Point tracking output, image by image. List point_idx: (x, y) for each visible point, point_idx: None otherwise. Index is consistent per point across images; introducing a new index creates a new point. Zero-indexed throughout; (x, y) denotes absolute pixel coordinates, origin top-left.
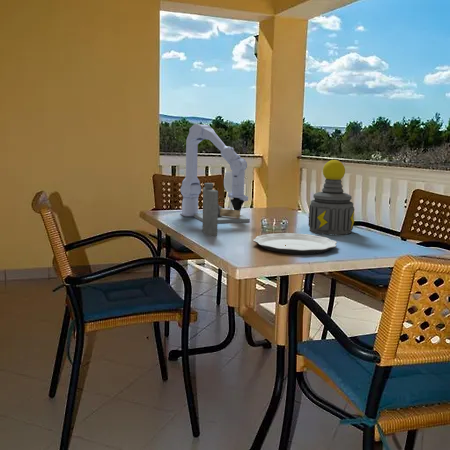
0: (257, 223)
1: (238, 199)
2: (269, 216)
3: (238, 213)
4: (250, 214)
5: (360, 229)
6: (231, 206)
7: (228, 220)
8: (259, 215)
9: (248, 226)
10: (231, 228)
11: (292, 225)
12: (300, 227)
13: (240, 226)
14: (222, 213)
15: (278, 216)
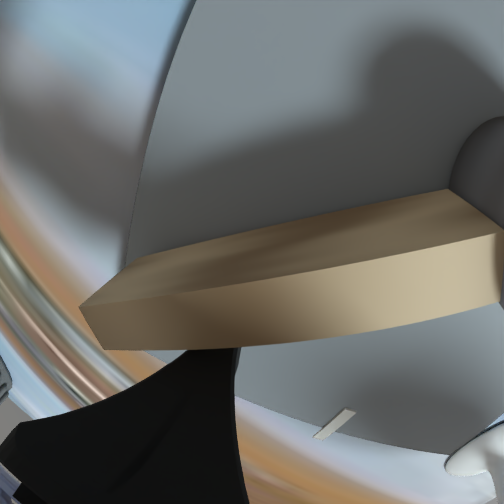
0: (82, 314)
1: (24, 490)
2: (273, 495)
3: (103, 286)
4: (386, 489)
5: (9, 397)
6: (498, 484)
7: (165, 109)
8: (329, 494)
9: (13, 171)
10: (14, 22)
11: (34, 368)
12: (6, 346)
13: (23, 115)
14: (414, 210)
15: (250, 501)
